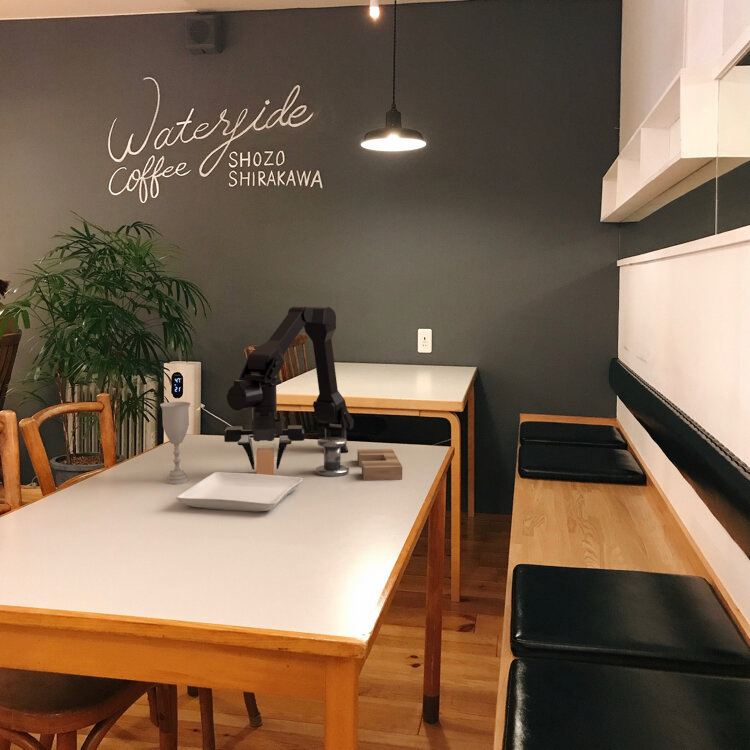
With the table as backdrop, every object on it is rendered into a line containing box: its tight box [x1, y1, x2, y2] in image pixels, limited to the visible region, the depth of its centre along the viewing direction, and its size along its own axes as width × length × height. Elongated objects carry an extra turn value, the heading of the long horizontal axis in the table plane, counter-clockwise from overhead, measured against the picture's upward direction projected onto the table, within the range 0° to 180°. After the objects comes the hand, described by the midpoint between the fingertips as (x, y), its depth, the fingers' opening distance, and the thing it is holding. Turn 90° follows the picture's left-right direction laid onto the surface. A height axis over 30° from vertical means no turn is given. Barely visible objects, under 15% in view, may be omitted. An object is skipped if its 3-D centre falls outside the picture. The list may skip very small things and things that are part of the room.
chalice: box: [159, 401, 191, 485], centre depth 188 cm, size 7×7×18 cm
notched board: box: [356, 448, 403, 481], centre depth 200 cm, size 20×9×3 cm, turn 6°
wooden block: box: [255, 446, 275, 475], centre depth 196 cm, size 5×4×6 cm
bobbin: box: [315, 437, 350, 478], centre depth 197 cm, size 8×8×8 cm
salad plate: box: [176, 471, 304, 513], centre depth 174 cm, size 21×21×3 cm
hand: (265, 469), depth 196 cm, fingers open, 5 cm apart
